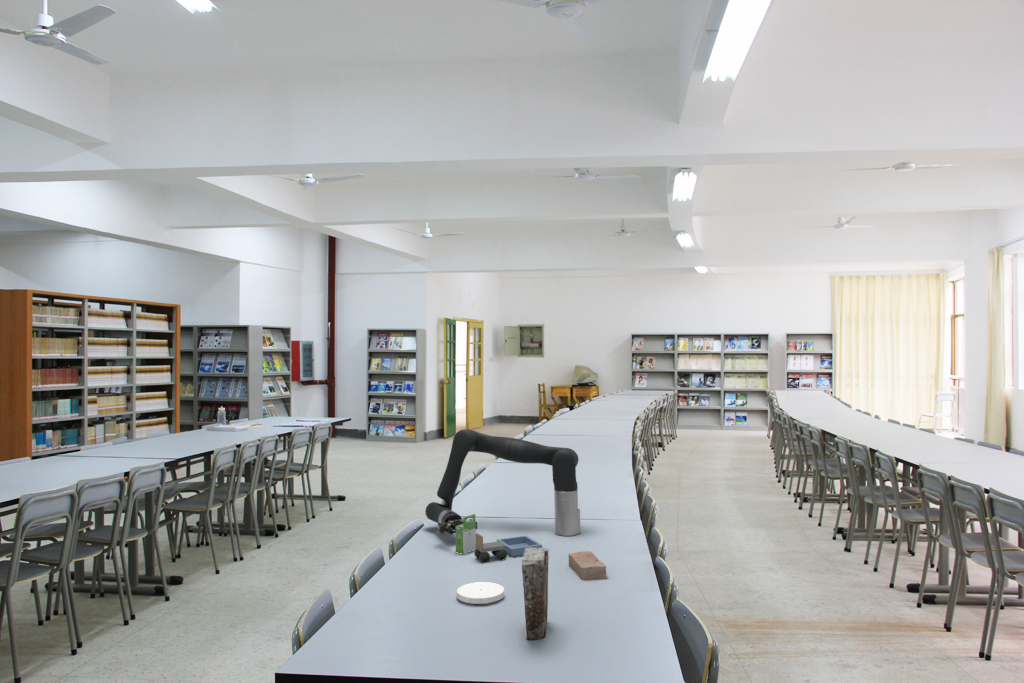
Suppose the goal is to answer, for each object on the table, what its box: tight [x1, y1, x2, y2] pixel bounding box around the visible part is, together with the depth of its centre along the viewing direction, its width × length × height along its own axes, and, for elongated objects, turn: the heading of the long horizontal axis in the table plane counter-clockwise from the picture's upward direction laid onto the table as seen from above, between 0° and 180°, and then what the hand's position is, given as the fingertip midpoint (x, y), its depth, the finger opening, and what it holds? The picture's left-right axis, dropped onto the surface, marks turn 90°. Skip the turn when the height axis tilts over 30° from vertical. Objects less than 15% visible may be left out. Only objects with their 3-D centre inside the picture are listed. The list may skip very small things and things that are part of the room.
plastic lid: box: [456, 581, 505, 605], centre depth 204 cm, size 14×14×2 cm
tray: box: [496, 535, 543, 558], centre depth 251 cm, size 12×14×3 cm
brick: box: [568, 550, 607, 581], centre depth 226 cm, size 17×8×5 cm, turn 11°
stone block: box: [521, 547, 549, 641], centre depth 179 cm, size 13×7×20 cm, turn 178°
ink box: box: [455, 513, 477, 555], centre depth 251 cm, size 7×4×13 cm, turn 141°
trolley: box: [473, 532, 508, 563], centre depth 241 cm, size 10×6×9 cm, turn 112°
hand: (463, 530), depth 253 cm, fingers open, 8 cm apart
